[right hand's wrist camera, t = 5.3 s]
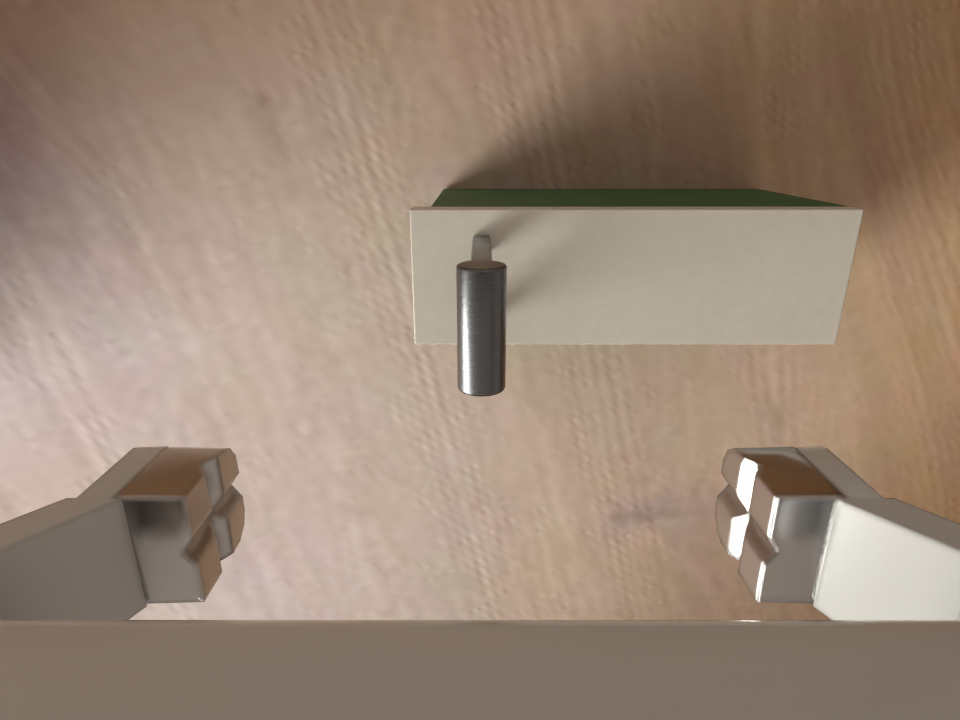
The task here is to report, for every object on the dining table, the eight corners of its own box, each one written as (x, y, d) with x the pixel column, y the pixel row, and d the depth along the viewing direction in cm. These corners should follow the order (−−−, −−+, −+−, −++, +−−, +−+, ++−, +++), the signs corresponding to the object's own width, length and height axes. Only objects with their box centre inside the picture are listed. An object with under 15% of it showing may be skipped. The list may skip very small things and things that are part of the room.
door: (417, 337, 26) (389, 422, 19) (412, 206, 25) (379, 239, 17) (823, 337, 26) (968, 422, 19) (849, 206, 24) (1025, 239, 17)
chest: (445, 289, 35) (434, 336, 27) (443, 189, 33) (430, 206, 25) (741, 289, 35) (822, 337, 26) (756, 188, 33) (849, 206, 25)
